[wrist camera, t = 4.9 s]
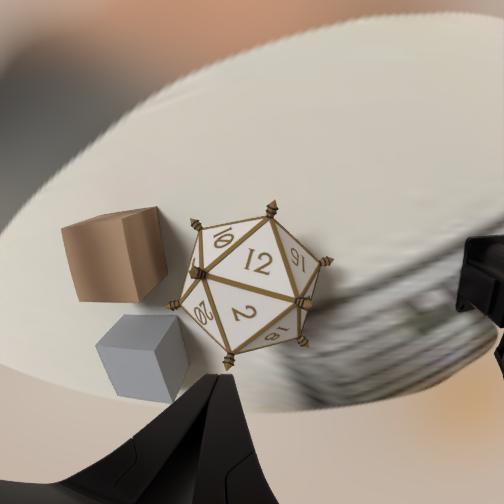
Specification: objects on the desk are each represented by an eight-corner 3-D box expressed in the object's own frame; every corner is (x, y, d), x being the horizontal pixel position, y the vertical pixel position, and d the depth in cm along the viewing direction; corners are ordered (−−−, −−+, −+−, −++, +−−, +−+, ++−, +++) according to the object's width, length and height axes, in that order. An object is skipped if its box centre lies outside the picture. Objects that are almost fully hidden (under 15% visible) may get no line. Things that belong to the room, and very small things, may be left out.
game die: (262, 270, 23) (231, 389, 17) (180, 207, 19) (118, 338, 13) (359, 235, 17) (351, 392, 12) (275, 137, 13) (213, 326, 8)
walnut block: (157, 206, 19) (121, 218, 14) (168, 273, 20) (139, 302, 15) (101, 214, 19) (60, 228, 15) (114, 275, 21) (79, 301, 16)
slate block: (177, 314, 21) (154, 351, 16) (190, 364, 22) (173, 403, 18) (124, 313, 22) (95, 345, 17) (140, 360, 23) (117, 395, 18)
